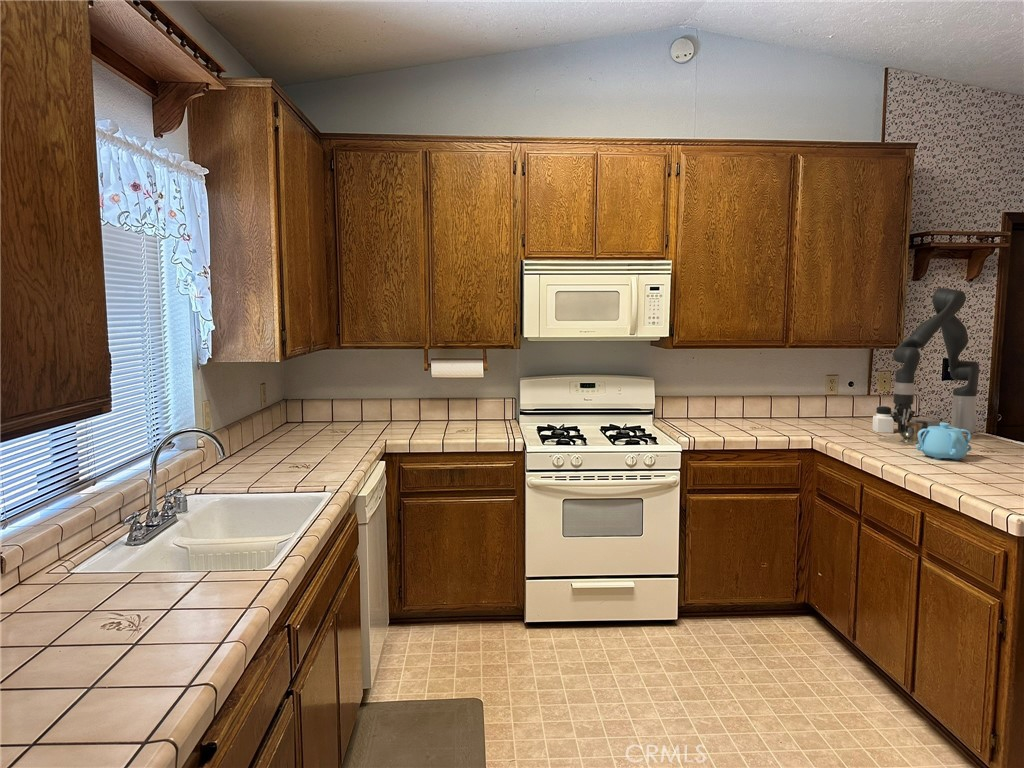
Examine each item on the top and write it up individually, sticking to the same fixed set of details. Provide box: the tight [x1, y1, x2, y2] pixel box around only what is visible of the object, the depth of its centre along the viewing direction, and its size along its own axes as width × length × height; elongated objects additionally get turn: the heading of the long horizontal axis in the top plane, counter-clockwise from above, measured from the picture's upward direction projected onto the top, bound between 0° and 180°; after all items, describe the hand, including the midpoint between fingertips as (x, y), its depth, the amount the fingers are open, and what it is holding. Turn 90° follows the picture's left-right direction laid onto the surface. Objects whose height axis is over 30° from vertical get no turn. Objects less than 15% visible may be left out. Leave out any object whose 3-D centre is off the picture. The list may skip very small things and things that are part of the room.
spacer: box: [906, 421, 922, 439], centre depth 293 cm, size 4×6×7 cm
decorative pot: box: [915, 422, 972, 461], centre depth 259 cm, size 16×16×14 cm
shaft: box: [899, 425, 923, 438], centre depth 295 cm, size 18×6×6 cm, turn 112°
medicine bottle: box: [872, 405, 895, 434], centre depth 315 cm, size 7×7×12 cm
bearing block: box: [877, 417, 941, 446], centre depth 293 cm, size 26×12×9 cm, turn 111°
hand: (901, 432), depth 291 cm, fingers closed
